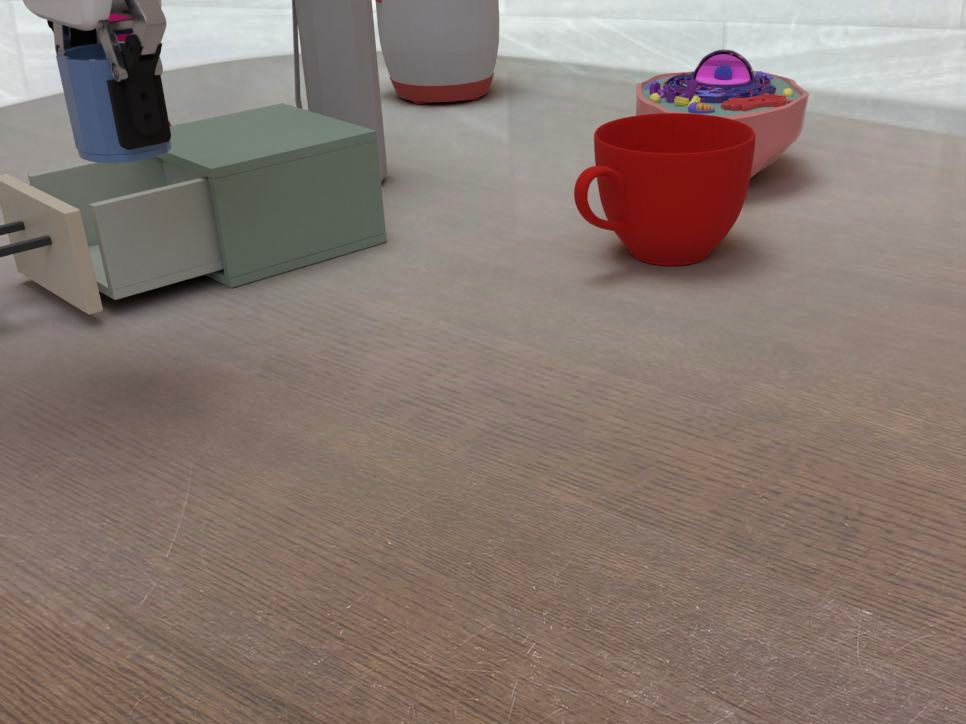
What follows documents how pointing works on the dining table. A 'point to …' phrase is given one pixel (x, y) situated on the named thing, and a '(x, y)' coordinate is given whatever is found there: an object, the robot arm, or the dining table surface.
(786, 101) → the cell model
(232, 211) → the green storage cabinet
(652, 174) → the ceramic cup
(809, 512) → the dining table surface
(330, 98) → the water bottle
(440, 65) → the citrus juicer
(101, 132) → the cup
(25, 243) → the drawer
